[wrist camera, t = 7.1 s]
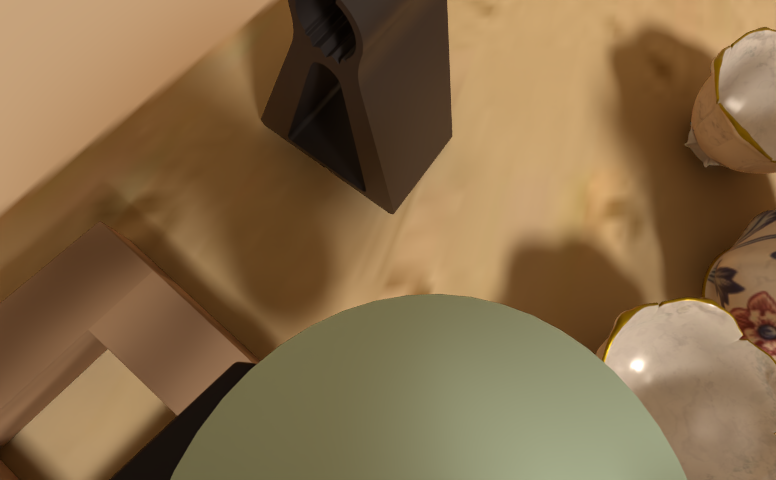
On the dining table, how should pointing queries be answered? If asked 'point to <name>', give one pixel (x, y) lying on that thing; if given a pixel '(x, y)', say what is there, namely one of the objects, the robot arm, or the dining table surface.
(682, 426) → the chinaware
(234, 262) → the dining table surface
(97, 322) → the pocket block
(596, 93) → the dining table surface
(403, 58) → the phone stand
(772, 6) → the dining table surface
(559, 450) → the peg
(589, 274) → the dining table surface
